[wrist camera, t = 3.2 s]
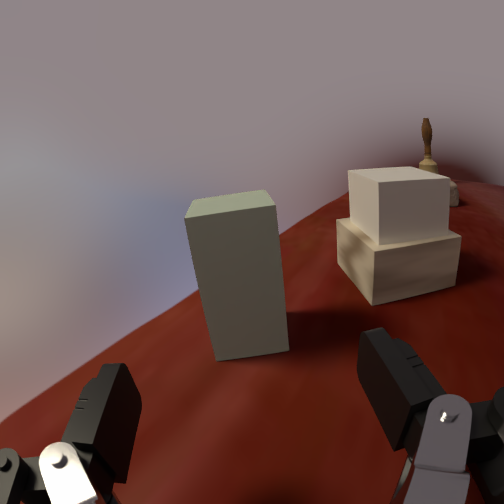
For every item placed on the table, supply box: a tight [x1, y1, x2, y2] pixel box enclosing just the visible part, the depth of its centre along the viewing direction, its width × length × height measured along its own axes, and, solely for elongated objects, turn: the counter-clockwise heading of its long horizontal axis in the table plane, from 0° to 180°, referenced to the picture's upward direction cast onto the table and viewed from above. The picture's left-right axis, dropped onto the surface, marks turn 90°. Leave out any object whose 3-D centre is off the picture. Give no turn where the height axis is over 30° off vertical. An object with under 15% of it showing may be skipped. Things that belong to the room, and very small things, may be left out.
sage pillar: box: [184, 190, 289, 361], centre depth 21 cm, size 5×5×10 cm
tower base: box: [336, 218, 462, 306], centre depth 28 cm, size 9×9×5 cm
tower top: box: [348, 167, 450, 245], centre depth 26 cm, size 7×7×5 cm
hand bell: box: [419, 118, 439, 175], centre depth 61 cm, size 8×8×16 cm
